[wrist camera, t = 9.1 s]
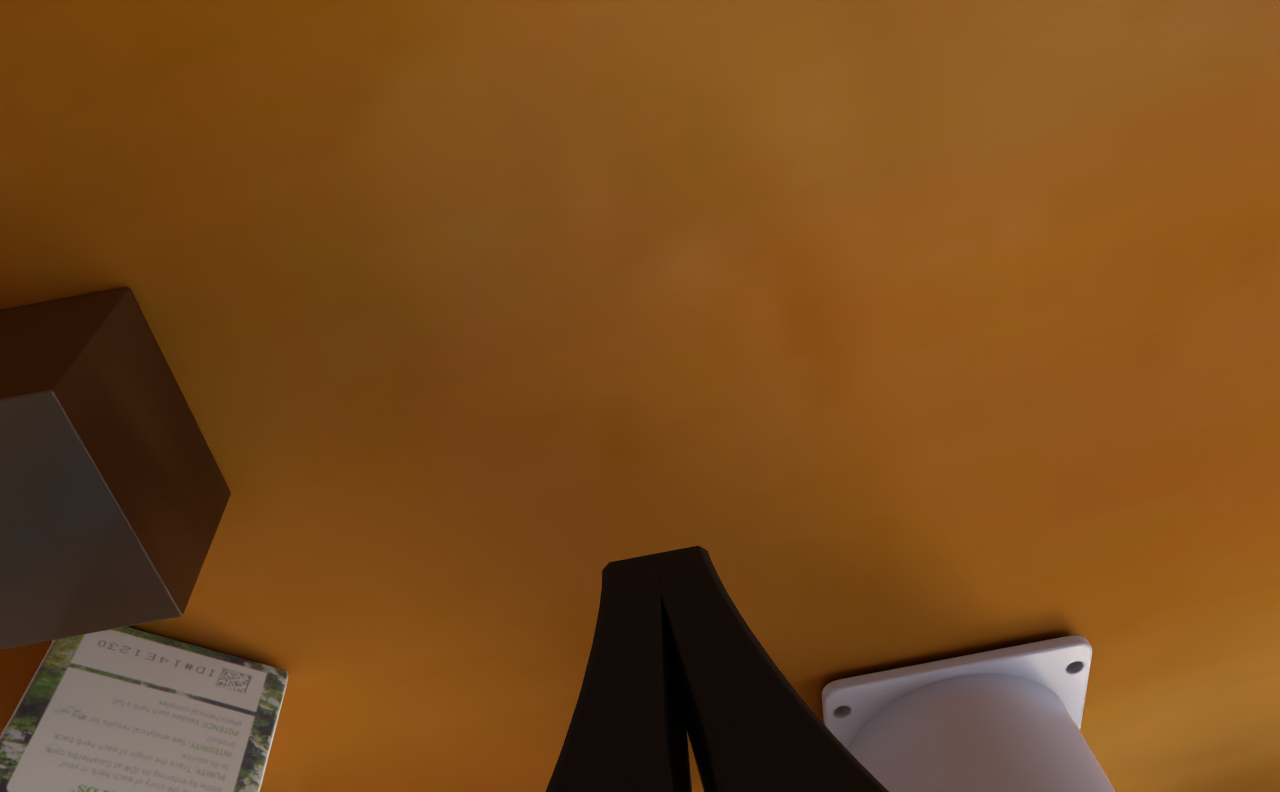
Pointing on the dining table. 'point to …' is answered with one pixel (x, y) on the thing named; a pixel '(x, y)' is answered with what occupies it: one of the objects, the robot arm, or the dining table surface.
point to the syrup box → (141, 718)
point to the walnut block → (96, 473)
